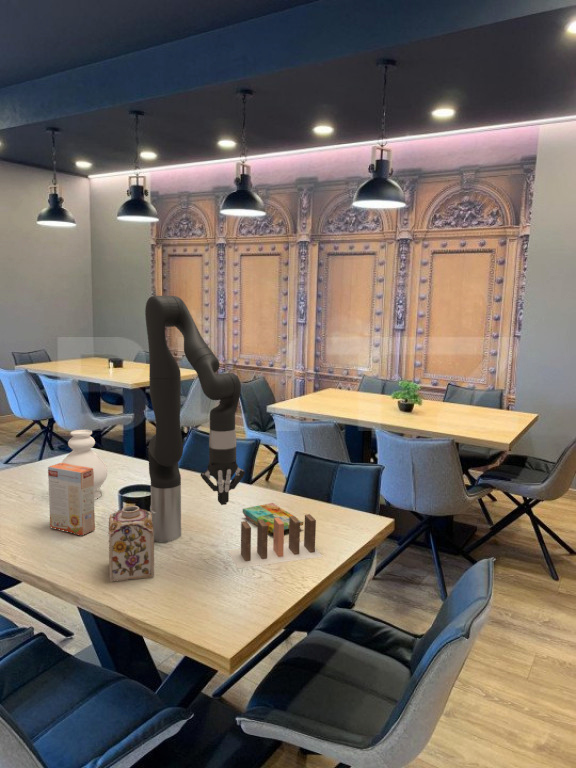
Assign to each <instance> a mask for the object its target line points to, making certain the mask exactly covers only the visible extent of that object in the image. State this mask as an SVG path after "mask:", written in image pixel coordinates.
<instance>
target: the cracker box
mask: <svg viewBox="0 0 576 768" xmlns="http://www.w3.org/2000/svg"><path fill="white" fill-rule="evenodd" d="M47 475H48V503H49V504H48V505H49V528H50V527H52V528H56V529H60V530H64V531H68V532H72V533H75V534H74V535H76V534H79V535H78V536H80V535H83V536H85V535H87V534H90V533H92V532H94V531H95V530H96V526H95V522H96V521H95V518H96V517H95V500H94V475H93V468H88V467H82V466H77V465H71V464H66V463H62V462H59V463H56V464H54V465H52V464H51V465H50V466H47ZM56 529H55V530H56ZM60 530H59V531H60ZM93 530H94V531H93ZM64 531H63V532H64ZM91 531H92V532H91ZM68 532H67V533H68ZM89 532H90V533H89ZM72 533H71V534H72ZM84 534H85V535H84Z"/></svg>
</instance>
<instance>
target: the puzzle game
mask: <svg viewBox="0 0 576 768" xmlns="http://www.w3.org/2000/svg"><path fill="white" fill-rule="evenodd" d="M242 513H243V516H244V517H245V518H246V519H247V520H248V521H250V522H251V523H252V524H254V525H256V527H257V526H258V520H261V519H263V520H264V522H265V523H266V524H267V525H268V534H274V518H280V519H281V521H282V522H283V523H284V531H286V530H289V516H294V515H293V514H291V513H290V512H288V511H287V510H286V509H283V508H282V507H280V506H278V504H275V503H273V502H270V503H265V504H260V505H259V504H258V505H255V506H250V507H245V508H242ZM296 518H297V519H298V520H299V521H300V527H301V526H304V521H303V520H301V519H300V518H298V517H296Z"/></svg>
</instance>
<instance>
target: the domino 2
mask: <svg viewBox="0 0 576 768" xmlns="http://www.w3.org/2000/svg"><path fill="white" fill-rule="evenodd" d="M256 527H257V529H256V530H257V531H256V533H257V535H256V536H257V538H256V539H257V541H256V547H257V553H258V554H259V556H260V557H261V559H267V545H268V536H269V535H268V534H269V533H268V525H267V524H266V523H265V522H264V520H263V519H261V520H258V526H257V525H256Z"/></svg>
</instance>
